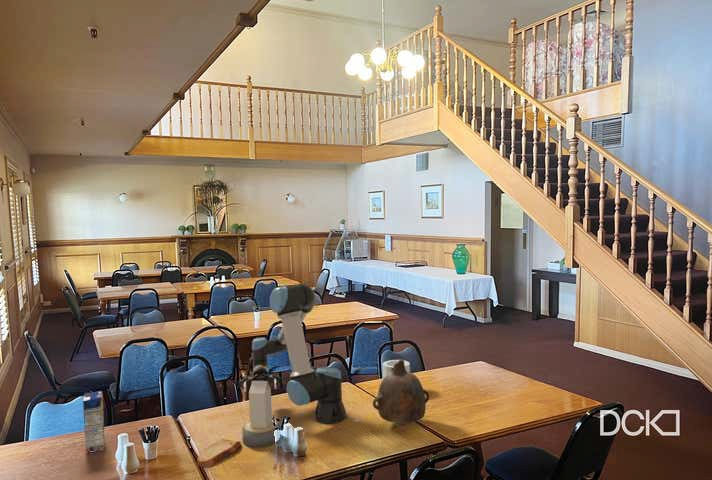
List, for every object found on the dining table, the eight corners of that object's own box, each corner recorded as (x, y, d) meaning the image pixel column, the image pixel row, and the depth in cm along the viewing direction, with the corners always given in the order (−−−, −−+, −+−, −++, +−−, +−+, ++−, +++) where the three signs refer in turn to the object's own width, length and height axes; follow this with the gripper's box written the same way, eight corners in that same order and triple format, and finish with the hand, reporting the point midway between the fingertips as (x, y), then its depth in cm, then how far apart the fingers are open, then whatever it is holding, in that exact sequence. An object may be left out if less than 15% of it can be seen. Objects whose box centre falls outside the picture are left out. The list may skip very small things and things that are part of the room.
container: (397, 397, 255) (396, 369, 254) (376, 390, 267) (375, 363, 266) (418, 389, 265) (417, 363, 265) (396, 383, 277) (395, 358, 277)
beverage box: (85, 453, 202) (83, 401, 202) (87, 443, 212) (84, 393, 212) (104, 449, 205) (101, 397, 205) (104, 440, 215) (102, 390, 215)
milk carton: (266, 428, 206) (264, 383, 205) (250, 428, 207) (248, 383, 206) (272, 422, 212) (270, 378, 212) (256, 421, 214) (254, 378, 213)
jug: (401, 411, 235) (398, 349, 234) (437, 422, 220) (435, 356, 219) (365, 427, 218) (363, 360, 217) (402, 440, 202) (400, 368, 202)
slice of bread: (197, 469, 185) (197, 460, 185) (195, 450, 202) (194, 441, 202) (245, 460, 192) (245, 450, 192) (239, 442, 208) (238, 433, 208)
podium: (287, 433, 214) (286, 420, 214) (268, 449, 199) (267, 434, 199) (255, 429, 220) (255, 416, 220) (235, 444, 205) (234, 430, 205)
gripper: (286, 379, 243) (288, 393, 222) (234, 384, 238) (232, 398, 217) (285, 364, 243) (287, 376, 222) (234, 369, 238) (231, 382, 217)
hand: (260, 387), depth 219 cm, fingers open, 13 cm apart
